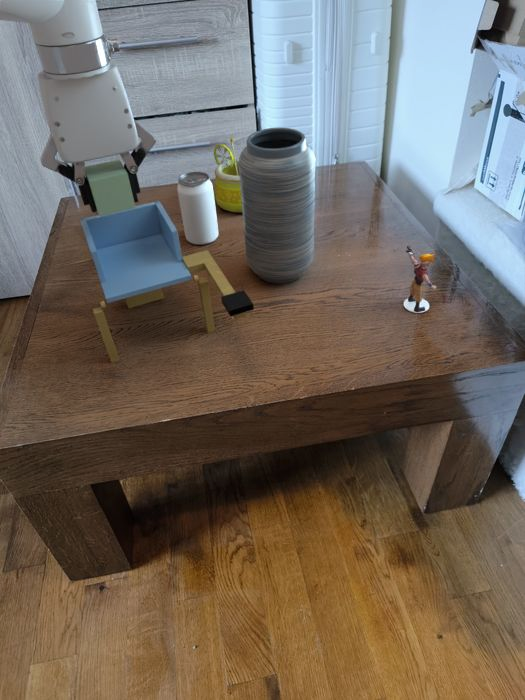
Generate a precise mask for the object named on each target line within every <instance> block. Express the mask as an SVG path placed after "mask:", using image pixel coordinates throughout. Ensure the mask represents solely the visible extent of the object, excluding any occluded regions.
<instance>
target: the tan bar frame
mask: <svg viewBox="0 0 525 700" xmlns="http://www.w3.org/2000/svg"><path fill="white" fill-rule="evenodd" d="M192 280H193V282H194V283H197V286H198V290H199V297H200V303H201V310H202V314H203V319H204V320H203V321H204V327H205V330H206V332H207V334H210V333H214V332H216V326H215V320H214V312H213V306H212V299H211V293H210V288H209V287H210V286H209V281H208V279H207V278H206V277H205V276H204V277H201V278H199V275H198V274H194V275H192ZM164 299H165V297H164V293H163V288H160V289H156V290H153V291H149V292H146V293H142V294H139V295H135V296H131V297H128V298H124V300H125V302H126V305H127V308H128V309H131V308H132V309H133V308H135V307H136V308H137V307H139V306H142V305H146V304H149V303H153V302H156V301H160V300H164ZM99 304H100V306H98V307H95V308H94V307H93V308H92V312H93V315H94V318H95V321H96V324H97V326H98V330H99V332H100V336H101V338H102V341H103V345H104V347H105V349H106V351H107V355H108V358H109V360H110V363H111V364H113V363H117V362H119V361H120V357H119V355H118V354H119V353H118V352H117V348H116V345H115V343H114V340H113V337H112V333H111V331H110V327H109V324H108V322H107V319H106V316H105V313H104V309H106V308H107V305H106V302H105V300H101V301H99Z"/></svg>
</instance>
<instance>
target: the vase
mask: <svg viewBox="0 0 525 700" xmlns="http://www.w3.org/2000/svg"><path fill="white" fill-rule="evenodd" d="M315 155H316V154H315V153H314V150H313V148H312V147H311V146H310V145H309V144H308V143H307V138H306V134H304V133H303V132H302V131H300V130H297V129H295V128H291V127H270V128H263V129H260V130H257V131H254V132H252V133H251V134H250V135H249V136H248V137H247V139H246V146H245V147H244V148H243V149H242V151H241V152H240V154H239V157H238V159H239V162H238V165H239V176H240V188H241V199H242V211H243V212H242V220H243V233H244V244H245V257H246V262H247V265H248V266H249V268H250V269H251V271H252V272H253V273H254V274H255V275H257V276H258V277H259V278H260V279H261V280H264V282H268V283H272V284H288V283H291V282H294V281H296V280H298V279H300V278H301V277H302V276H303V275H304V273H306V271H308V270H309V268H310V267H311V266H312V264H313V261H314V256H315V208H316V207H315V206H316V205H315V203H316V156H315Z"/></svg>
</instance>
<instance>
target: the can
mask: <svg viewBox="0 0 525 700" xmlns="http://www.w3.org/2000/svg"><path fill="white" fill-rule="evenodd" d="M209 175H210V174H208V173H206V172H203V171H190V172H185V173H183V174H182V175H180V176H179V177H178V179H177V182H178V184H177V187H176V188H177V189H176V190H177V191H176V192H177V197H178V202H179V208H180V213H181V221H182V225H183V230H184V236H185V240H186V241H187V242H188V243H190V244H191V245H195V246H205V245H209V244H212V243H213V242H215V241H216V240H217V238H218V237H219V224H218V216H217V208H216V199H215V191H214V186H213V183H212V181H211V179H210V176H209Z"/></svg>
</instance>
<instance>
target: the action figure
mask: <svg viewBox="0 0 525 700" xmlns="http://www.w3.org/2000/svg"><path fill="white" fill-rule="evenodd" d="M406 249H407V250H405V253H406V254H407V253H408V256H409V260H410V261H411V264H412V265H413V268H414V270H413V273H414V278H413V280H412V281H411V284H410V287H409V297H408V298H406V299H405V300H404V301H403V307H404V308H405V309H406V310H407V311H409V312H412V313H416V314H419V313H420V314H421V313H425V312H427V311H428V310H429V309H430V303H429V302H428V301H427V300H425V298H423V295H424V290H423V289H424V288H423V285H424V282H425V284H426V285H428V286H429V287H430V288H431V289H432V290H436V289H437V287H438V286H437V285H434V284H433V283H432V282H431V280H429V276H428V275H429V274H428V269H427V268H429V267H430V266H431V264H432V263H433V262H434V261H435V260H434V259H435V254H431V253H425V254H421V255H420V256H419V257H418V259H419V260H416V259H415V258H414V255H415V254H416V253H415V251H414V249H413V247H412V245H406Z"/></svg>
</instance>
